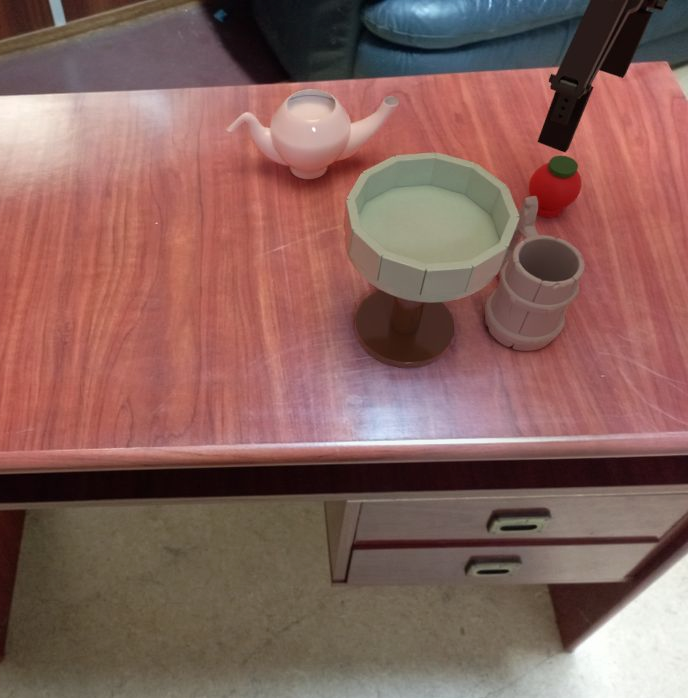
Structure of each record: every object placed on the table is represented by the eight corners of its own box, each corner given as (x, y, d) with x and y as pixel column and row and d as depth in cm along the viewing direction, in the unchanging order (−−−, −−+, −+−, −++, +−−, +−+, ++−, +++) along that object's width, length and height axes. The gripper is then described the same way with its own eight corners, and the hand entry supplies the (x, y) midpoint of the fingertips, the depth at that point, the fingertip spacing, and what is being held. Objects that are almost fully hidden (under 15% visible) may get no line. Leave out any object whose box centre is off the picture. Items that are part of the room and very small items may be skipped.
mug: (496, 359, 72) (530, 281, 63) (459, 271, 79) (485, 188, 69) (571, 348, 73) (616, 269, 63) (527, 262, 79) (562, 178, 70)
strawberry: (581, 210, 83) (600, 167, 78) (547, 230, 82) (565, 188, 77) (545, 184, 86) (562, 141, 81) (512, 203, 85) (527, 161, 80)
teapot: (229, 146, 94) (224, 83, 86) (384, 138, 93) (393, 74, 85) (229, 197, 88) (224, 135, 81) (394, 190, 87) (405, 126, 80)
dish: (501, 341, 74) (553, 220, 60) (395, 409, 70) (424, 296, 56) (409, 258, 81) (437, 133, 67) (308, 316, 77) (315, 195, 63)
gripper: (689, -208, 59) (596, 33, 77) (560, -83, 49) (486, 163, 66) (789, -191, 56) (669, 55, 74) (674, -54, 46) (566, 196, 63)
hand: (582, 107), depth 70 cm, fingers open, 13 cm apart
